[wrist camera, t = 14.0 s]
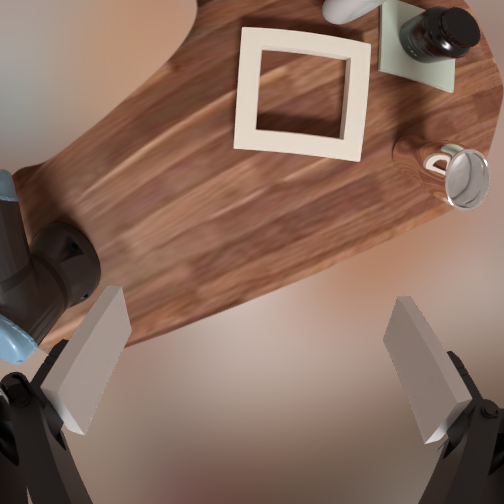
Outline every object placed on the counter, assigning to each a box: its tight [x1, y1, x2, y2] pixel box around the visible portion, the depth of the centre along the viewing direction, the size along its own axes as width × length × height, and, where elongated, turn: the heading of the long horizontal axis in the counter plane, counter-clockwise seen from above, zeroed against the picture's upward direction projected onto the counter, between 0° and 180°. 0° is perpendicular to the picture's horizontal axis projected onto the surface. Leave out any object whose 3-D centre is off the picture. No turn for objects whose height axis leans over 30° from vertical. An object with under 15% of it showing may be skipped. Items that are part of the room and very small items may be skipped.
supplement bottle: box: [399, 6, 480, 63], centre depth 24 cm, size 7×7×12 cm
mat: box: [378, 0, 455, 93], centre depth 30 cm, size 12×12×1 cm
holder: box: [234, 27, 371, 162], centre depth 34 cm, size 16×16×2 cm
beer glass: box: [393, 135, 491, 211], centre depth 31 cm, size 7×7×15 cm
